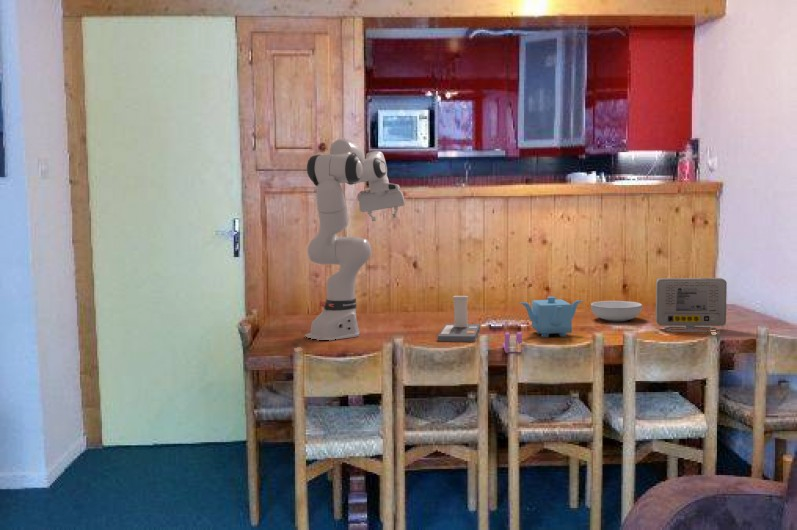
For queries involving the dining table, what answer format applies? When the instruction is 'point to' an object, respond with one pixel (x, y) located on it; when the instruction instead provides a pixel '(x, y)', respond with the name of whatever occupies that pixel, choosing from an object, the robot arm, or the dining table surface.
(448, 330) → the switch panel
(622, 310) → the serving bowl
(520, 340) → the bracket
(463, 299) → the switch tab
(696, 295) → the network device
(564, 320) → the teakettle
